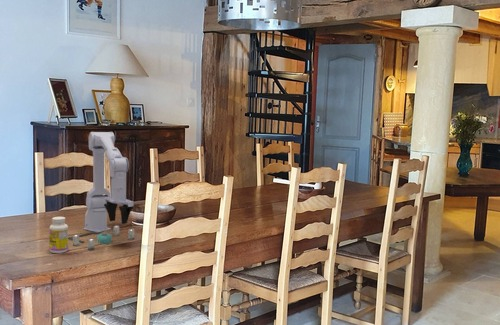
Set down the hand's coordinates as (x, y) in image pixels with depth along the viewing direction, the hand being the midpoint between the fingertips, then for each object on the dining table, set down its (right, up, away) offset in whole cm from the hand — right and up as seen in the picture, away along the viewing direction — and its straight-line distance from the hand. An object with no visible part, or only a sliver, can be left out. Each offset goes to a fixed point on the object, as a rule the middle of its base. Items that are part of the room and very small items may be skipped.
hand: (118, 222), depth 212 cm
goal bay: (-15, -8, +11) cm, 20 cm away
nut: (-7, -9, +5) cm, 12 cm away
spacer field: (-7, -9, +5) cm, 12 cm away
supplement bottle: (-20, -10, -10) cm, 25 cm away
